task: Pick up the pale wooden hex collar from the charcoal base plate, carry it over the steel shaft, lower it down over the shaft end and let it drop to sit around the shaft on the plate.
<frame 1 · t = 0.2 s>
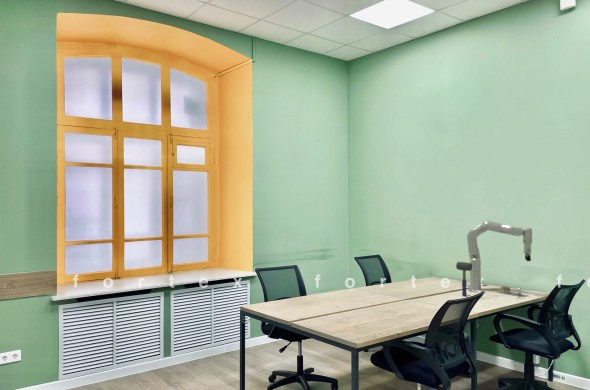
hand: (527, 260, 405), 31 cm above the table, tool pointing down, fingers open, 9 cm apart
steel shaft: (519, 295, 393), resting on base plate
rubber mallet: (464, 296, 398), on the table
base plate: (512, 295, 399), on the table
wooden collar: (505, 292, 405), point 1 cm above the table, touching base plate
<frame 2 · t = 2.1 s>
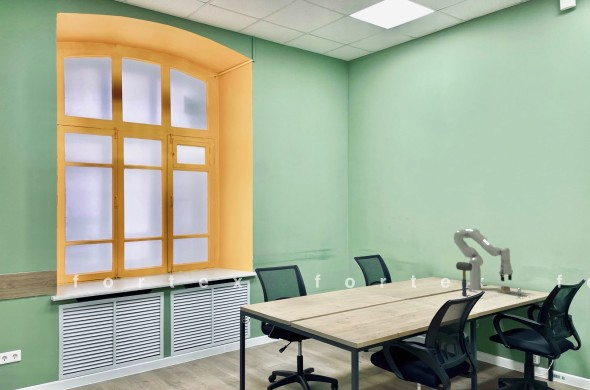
hand: (506, 280, 405), 12 cm above the table, tool pointing down, fingers open, 9 cm apart
nothing on the table moved.
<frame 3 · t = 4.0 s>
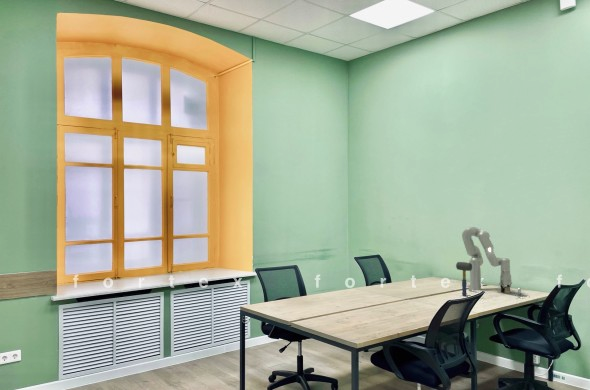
hand: (505, 291, 405), 2 cm above the table, tool pointing down, fingers closed on wooden collar, 7 cm apart
wooden collar: (505, 292, 405), point 2 cm above the table, touching base plate, gripper
everything else where it was.
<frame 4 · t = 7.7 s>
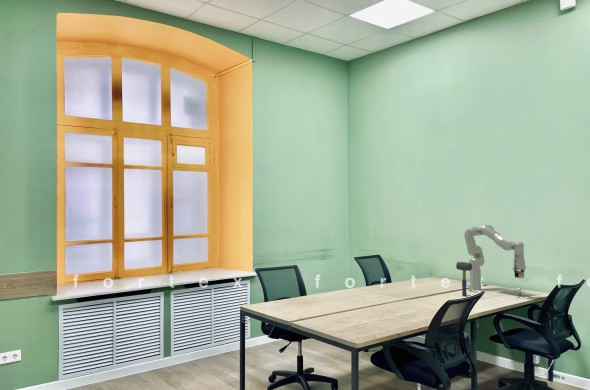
hand: (519, 276, 393), 18 cm above the table, tool pointing down, fingers closed on wooden collar, 7 cm apart
wooden collar: (519, 277, 393), point 17 cm above the table, touching gripper
everything else where it was.
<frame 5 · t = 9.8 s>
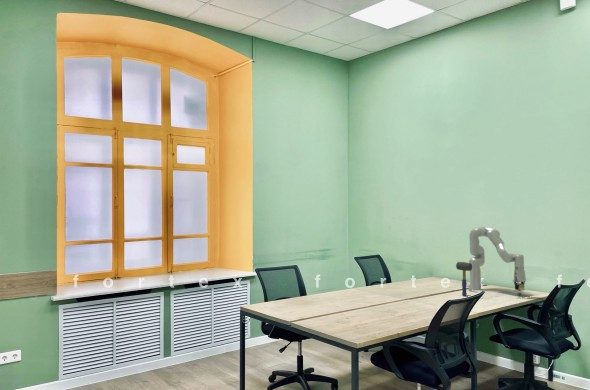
hand: (519, 288, 393), 7 cm above the table, tool pointing down, fingers closed on wooden collar, 7 cm apart
wooden collar: (519, 289, 393), point 6 cm above the table, touching gripper
everything else where it was.
when the fingers open (5 cm above the table, at t = 11.5 s): wooden collar drops 2 cm, resting on base plate.
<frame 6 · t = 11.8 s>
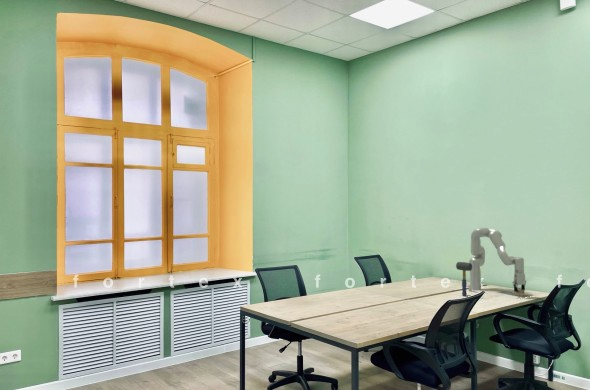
hand: (519, 291, 393), 5 cm above the table, tool pointing down, fingers open, 9 cm apart
wooden collar: (519, 295, 393), point 1 cm above the table, touching base plate
everything else where it was.
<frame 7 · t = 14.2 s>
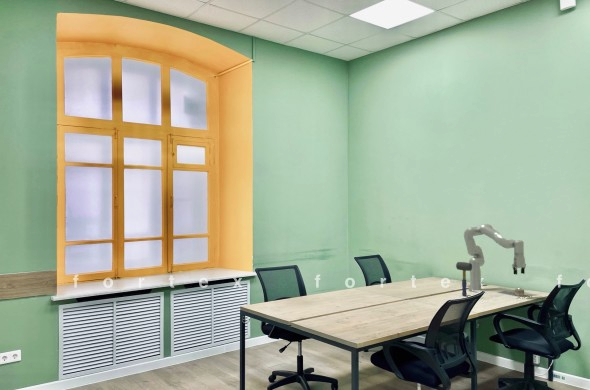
hand: (519, 273, 393), 20 cm above the table, tool pointing down, fingers open, 9 cm apart
nothing on the table moved.
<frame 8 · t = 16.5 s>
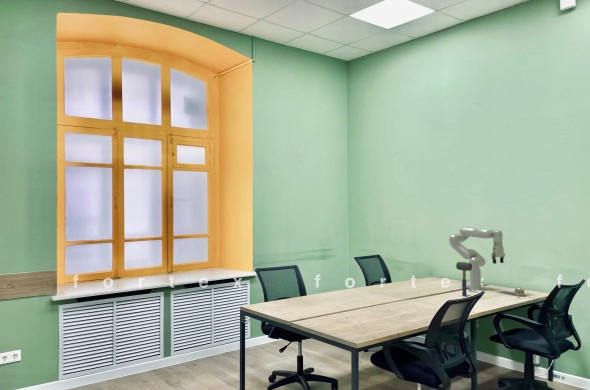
hand: (498, 263, 404), 28 cm above the table, tool pointing down, fingers open, 9 cm apart
nothing on the table moved.
at the end: wooden collar 0.0 cm from the steel shaft (horizontally); wooden collar point 1.5 cm above the table; wooden collar tilted 0° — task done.
